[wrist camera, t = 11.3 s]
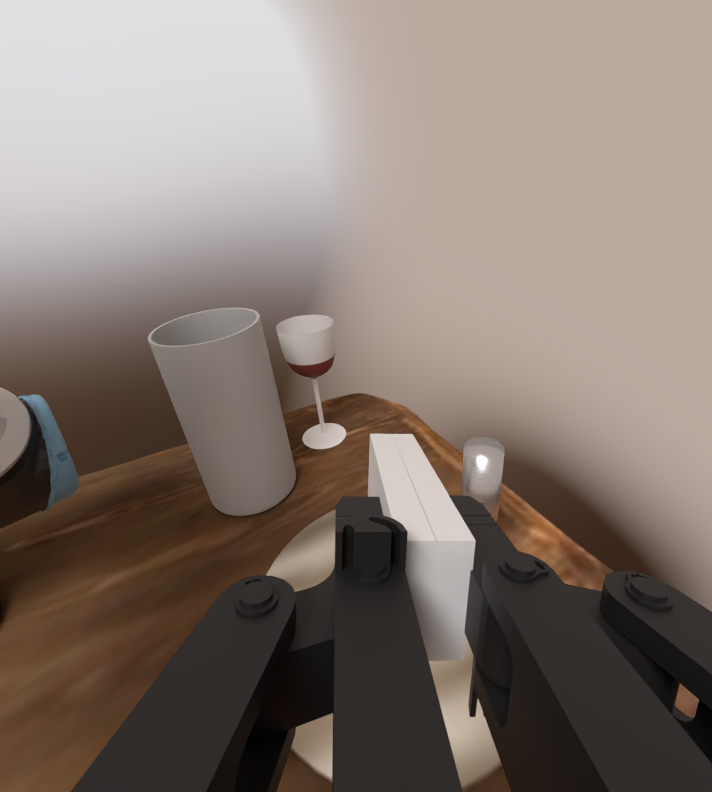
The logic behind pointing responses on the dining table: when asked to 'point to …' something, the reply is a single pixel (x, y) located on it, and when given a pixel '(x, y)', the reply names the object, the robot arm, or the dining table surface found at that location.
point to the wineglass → (312, 366)
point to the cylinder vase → (227, 406)
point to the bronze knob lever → (483, 472)
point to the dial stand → (468, 736)
